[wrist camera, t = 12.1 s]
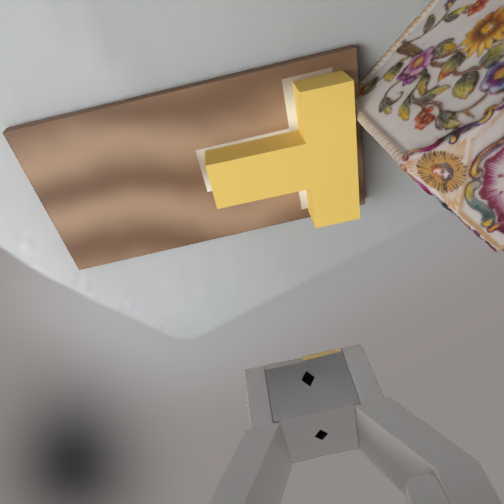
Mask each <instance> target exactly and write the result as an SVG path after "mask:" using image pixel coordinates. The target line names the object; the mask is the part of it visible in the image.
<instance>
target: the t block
mask: <svg viewBox="0 0 504 504" xmlns="http://www.w3.org/2000/svg"><path fill="white" fill-rule="evenodd" d="M292 84H293V92H294V100H295V108H296V116H297V124H298V130H296V131H292V132H287V133H283V134H278V135H274V136H269V137H265V138H260V139H256V140H251V141H247V142H242V143H238V144H233V145H229V146H224V147H220V148H215V149H210V150H206V151H205V165H206V170H207V173H208V177H209V181H210V184H211V188H212V192H213V196H214V199H215V203H216V207H217V209H220V208H225V207H230V206H234V205H239V204H243V203H248V202H252V201H257V200H262V199H266V198H271V197H275V196H280V195H284V194H289V193H294V192H298V191H303V190H306V195H307V203H308V211H309V213H310V216H311V218H312V220H313V223H314V225H315V228H318V227H323V226H328V225H332V224H337V223H341V222H346V221H351V220H355V219H360V205H359V182H358V160H357V138H356V115H355V93H354V80H353V79H352V78H351V77H350V76H348V75H347V74H346V73H345V72H344V71H343V70H341V71H337V72H332V73H328V74H323V75H319V76H314V77H310V78H305V79H301V80H296V81H292Z"/></svg>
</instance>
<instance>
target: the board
mask: <svg viewBox="0 0 504 504" xmlns="http://www.w3.org/2000/svg"><path fill="white" fill-rule="evenodd" d="M341 70H343V71H344V72H345V73H346V74H347V75H348V76H350V77H351V78H352V79H353V80H354V93H355V99H356V98H357V97H358V95H359V81H358V63H357V48H356V47H355V46H354V45H351V46H347V47H342V48H338V49H334V50H330V51H326V52H322V53H317V54H313V55H309V56H305V57H301V58H297V59H292V60H288V61H284V62H280V63H276V64H272V65H267V66H263V67H259V68H255V69H251V70H247V71H243V72H238V73H234V74H230V75H226V76H222V77H218V78H213V79H209V80H205V81H201V82H197V83H193V84H188V85H184V86H180V87H176V88H172V89H168V90H163V91H159V92H155V93H151V94H147V95H143V96H138V97H134V98H130V99H126V100H122V101H118V102H113V103H109V104H105V105H101V106H97V107H93V108H89V109H84V110H80V111H76V112H72V113H68V114H64V115H59V116H55V117H51V118H47V119H43V120H39V121H34V122H30V123H26V124H22V125H18V126H14V127H9V128H6V130H5V131H4V132H3V134H4V136H5V138H6V140H7V142H8V143H9V145H10V147H11V149H12V151H13V152H14V154H15V156H16V158H17V160H18V161H19V163H20V165H21V167H22V168H23V170H24V172H25V174H26V176H27V177H28V179H29V181H30V183H31V185H32V186H33V188H34V190H35V192H36V194H37V195H38V197H39V199H40V201H41V202H42V204H43V206H44V208H45V210H46V211H47V213H48V215H49V217H50V219H51V220H52V222H53V224H54V226H55V228H56V229H57V231H58V233H59V235H60V237H61V238H62V240H63V242H64V244H65V245H66V247H67V249H68V251H69V253H70V254H71V256H72V258H73V260H74V262H75V263H76V265H77V267H78V269H79V270H81V269H86V268H90V267H94V266H99V265H103V264H107V263H112V262H116V261H120V260H125V259H129V258H133V257H138V256H142V255H146V254H151V253H155V252H159V251H164V250H168V249H172V248H177V247H181V246H185V245H190V244H194V243H198V242H203V241H207V240H211V239H216V238H220V237H224V236H229V235H233V234H237V233H242V232H246V231H250V230H255V229H259V228H263V227H268V226H272V225H276V224H281V223H285V222H289V221H294V220H298V219H302V218H307V217H311V216H310V213H309V211H308V203H307V195H306V190H303V191H298V192H294V193H289V194H284V195H280V196H275V197H271V198H266V199H262V200H257V201H252V202H248V203H243V204H239V205H234V206H230V207H225V208H220V209H217V207H216V203H215V199H214V196H213V192H212V188H211V184H210V181H209V177H208V173H207V170H206V165H205V151H206V150H210V149H215V148H220V147H224V146H229V145H233V144H238V143H242V142H247V141H251V140H256V139H260V138H265V137H269V136H274V135H278V134H283V133H287V132H292V131H296V130H298V124H297V116H296V108H295V100H294V92H293V84H292V81H296V80H301V79H305V78H310V77H314V76H319V75H323V74H328V73H332V72H337V71H341ZM356 138H357V160H358V182H359V205H363V204H365V193H364V175H363V156H362V137H361V124H360V123H359V122H358V121H357V120H356Z"/></svg>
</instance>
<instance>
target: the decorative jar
mask: <svg viewBox="0 0 504 504" xmlns="http://www.w3.org/2000/svg"><path fill="white" fill-rule="evenodd" d="M355 115H356V120H357V121H358V122H359V123H360V124H361V125H362V126H363V127H364V129H365V130H366V131H367V132H368V133H369V134H370V135H372V137H373V138H374V139H375V140H376V141H377V142H378V143H379V144H380V145H381V146H382V147H383V148H384V150H385V151H387V152H388V153H389V154H390V155H391V157H392V158H393V159H394V160H395V161H396V162H397V163H398V164H399V166H400V167H401V168H402V169H403V170H404V171H405V172H406V173H408V175H409V176H410V177H411V178H412V179H413V180H414V181H415V182H417V183H418V184H419V185H420V186H421V188H422V189H423V190H424V191H426V192H427V193H428V194H430V195H432V196H434V197H435V198H437V199H438V201H439V202H440V204H441V206H442V207H443V208H446V209H448V210H449V211H451V213H452V214H453V215H456V216H457V217H458V218H459V219H460V220H461V221H462V222H463V223H464V225H465V226H466V227H467V228H469V229H470V230H472V231H473V232H474V233H475V235H476V236H478V237H479V238H481V239H483V240H485V242H486V243H487V244H488V245H489V246H490V247H491V248H492V249H493V250H494V251H495V252H501V251H504V0H432V1H431V2H430V3H429V4H428V5H427V7H426V8H425V9H424V10H423V11H422V12H421V13H420V15H419V16H418V17H417V18H416V19H415V20H414V21H413V22H412V24H411V25H410V26H409V27H408V28H407V29H406V31H405V32H404V33H403V34H402V35H401V36H400V37H399V38H398V39H397V41H396V42H395V43H394V44H393V45H392V46H391V47H390V48H389V50H388V51H387V52H386V53H385V54H384V55H383V56H382V57H381V59H380V60H379V61H378V62H377V63H376V64H375V66H374V67H373V68H372V69H371V70H370V71H369V73H368V74H367V75H366V76H365V77H364V78H363V79H362V80H361V82H360V83H359V95H358V97H357V98H356V99H355Z"/></svg>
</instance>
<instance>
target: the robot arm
mask: <svg viewBox="0 0 504 504" xmlns="http://www.w3.org/2000/svg"><path fill="white" fill-rule="evenodd" d="M244 371H245V372H244V379H245V387H246V395H247V404H248V412H249V421H250V428H249V429H245V430H244V432H243V434H242V436H241V438H240V440H239V442H238V444H237V446H236V448H235V450H234V453H233V454H232V456H231V458H230V460H229V462H228V465H227V467H226V469H225V471H224V473H223V475H222V477H221V479H220V481H219V483H218V485H217V487H216V489H215V491H214V493H213V495H212V497H211V499H210V502H209V503H208V504H280V502H281V499H282V496H283V493H284V490H285V487H286V484H287V481H288V478H289V474H290V472H291V468H292V463H296V462H300V461H304V460H308V459H312V458H316V457H320V456H324V455H329V454H334V453H339V452H344V451H350V450H355V449H360V451H361V452H362V453H363V454H364V455H365V456H366V457H367V458H368V459H369V460H370V461H371V462H372V463H373V464H374V465H375V466H376V467H377V468H378V469H379V470H380V471H381V472H382V473H383V474H384V475H385V476H386V477H387V478H389V480H390V481H391V482H392V483H393V484H394V485H395V486H396V487H397V488H398V489H399V490H400V491H402V492H403V494H404V495H405V496H406V503H405V504H502V502H501V500H500V498H499V496H498V495H497V493H496V491H495V489H494V487H493V485H492V484H491V482H490V480H489V478H488V476H487V475H486V473H485V471H484V469H483V467H482V465H481V464H480V462H479V461H478V460H477V459H475V458H474V457H473V456H471V455H470V454H468V453H467V452H466V451H464V450H463V449H461V448H460V447H459V446H457V445H456V444H455V443H453V442H452V441H450V440H449V439H447V438H446V437H445V436H444V435H442V434H441V433H439V432H438V431H437V430H435V429H434V428H432V427H431V426H430V425H428V424H427V423H425V422H424V421H423V420H421V419H420V418H419V417H417V416H416V415H414V414H413V413H412V412H410V411H409V410H407V409H406V408H405V407H403V406H402V405H400V404H399V403H398V402H396V401H395V400H393V399H392V398H384V396H383V394H382V391H381V389H380V386H379V384H378V382H377V379H376V377H375V375H374V372H373V370H372V368H371V365H370V363H369V360H368V358H367V356H366V354H365V351H364V349H363V347H362V346H361V345H360V344H358V345H353V346H349V347H345V348H341V349H340V348H338V349H334V350H330V351H326V352H321V353H317V354H313V355H309V356H305V357H302V358H299V359H294V360H289V361H284V362H279V363H274V364H269V365H264V366H259V367H254V368H250V369H245V370H244Z"/></svg>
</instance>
